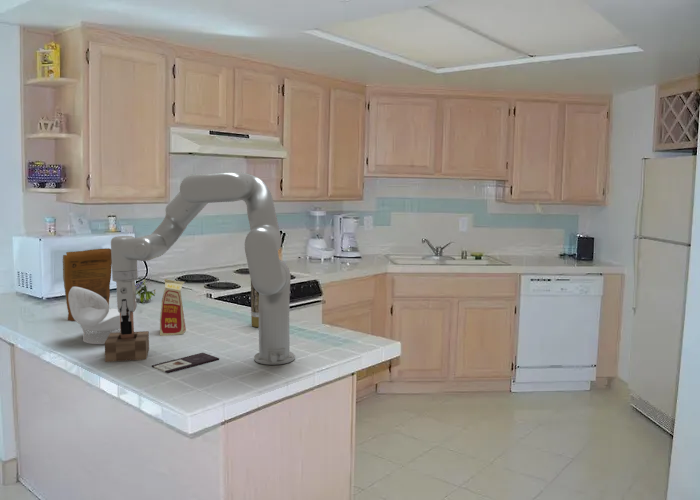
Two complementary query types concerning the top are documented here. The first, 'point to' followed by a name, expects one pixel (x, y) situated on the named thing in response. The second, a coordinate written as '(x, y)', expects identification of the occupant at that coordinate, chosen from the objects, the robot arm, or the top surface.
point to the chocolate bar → (185, 362)
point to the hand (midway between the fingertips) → (127, 331)
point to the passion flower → (140, 288)
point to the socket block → (127, 347)
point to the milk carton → (172, 310)
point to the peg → (131, 336)
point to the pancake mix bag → (87, 273)
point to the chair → (93, 315)
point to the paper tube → (254, 307)
